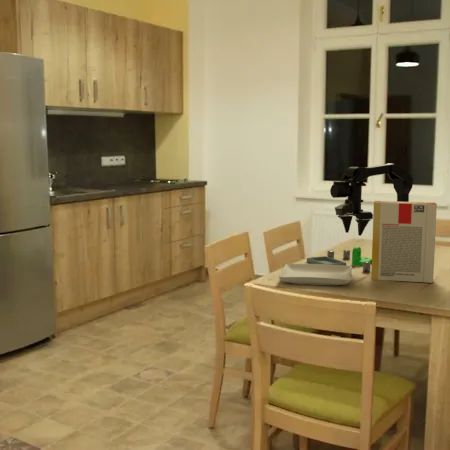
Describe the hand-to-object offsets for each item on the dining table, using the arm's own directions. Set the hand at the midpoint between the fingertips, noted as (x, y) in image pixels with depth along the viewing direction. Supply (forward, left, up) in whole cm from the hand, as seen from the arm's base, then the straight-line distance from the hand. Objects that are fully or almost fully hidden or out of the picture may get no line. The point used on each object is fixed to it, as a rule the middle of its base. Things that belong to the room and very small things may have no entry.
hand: (353, 234), depth 256 cm
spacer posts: (-8, -6, -15) cm, 18 cm away
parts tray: (+6, -12, -15) cm, 19 cm away
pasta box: (-6, +25, -15) cm, 29 cm away
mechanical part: (-11, -7, -15) cm, 20 cm away
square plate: (+25, +11, -15) cm, 31 cm away
